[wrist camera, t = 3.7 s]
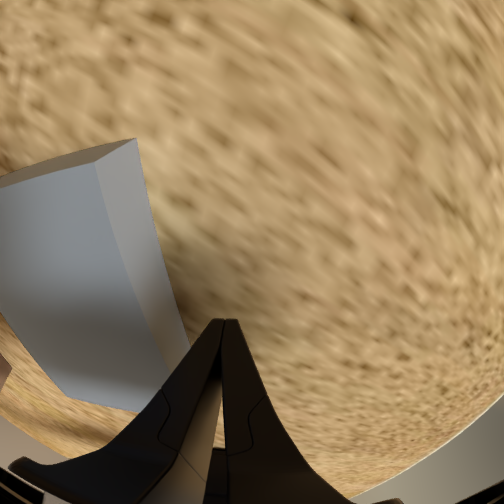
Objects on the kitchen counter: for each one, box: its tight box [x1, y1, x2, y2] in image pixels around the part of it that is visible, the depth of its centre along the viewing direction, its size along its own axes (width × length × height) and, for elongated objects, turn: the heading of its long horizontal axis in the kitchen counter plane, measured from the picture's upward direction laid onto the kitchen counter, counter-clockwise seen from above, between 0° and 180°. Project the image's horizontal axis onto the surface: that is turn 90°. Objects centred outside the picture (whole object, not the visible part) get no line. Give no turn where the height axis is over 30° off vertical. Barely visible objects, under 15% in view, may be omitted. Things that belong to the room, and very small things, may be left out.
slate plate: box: [0, 138, 191, 413], centre depth 10 cm, size 12×8×3 cm, turn 4°
